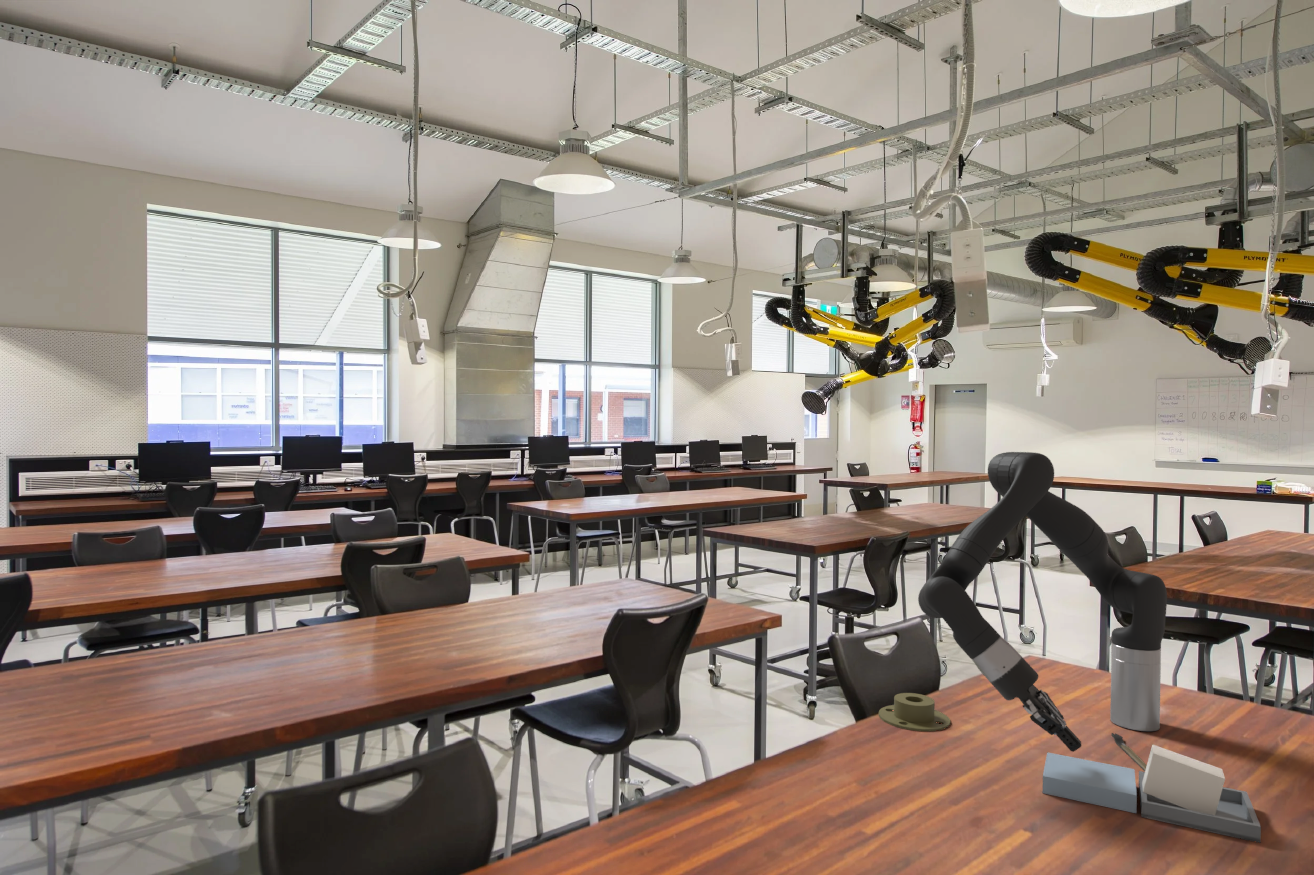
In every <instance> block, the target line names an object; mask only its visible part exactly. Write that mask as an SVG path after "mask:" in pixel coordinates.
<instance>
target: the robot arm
mask: <svg viewBox="0 0 1314 875" xmlns="http://www.w3.org/2000/svg"><path fill="white" fill-rule="evenodd" d="M987 477H988V480H989V482H990V485H991V486H992V488H993V489H994V490H995V491H996V492H997V493H998V494H999V496H1001V497H1002V498H1001V499H1000V500H999V501H997V503H995V504H994V505H993V506H992V507H991V508H990V509H988V510H987V511H985V512H984V513H983V514H981V515H980V516H978V517H977V518H976V519H974V520H973V521H971V523H969V524H968V525H967V526H966V527H965V528H964V529H963V530H962V531H961V533H959V535H958V536H957V538H956V539H955V541H954V542H953V544H952V545H951V547H950V548H949V549H948V552H947V553H946V554H945V557H944V558H943V560H942V561H941V563H940V564H939V566H937V568H936V569H934V570H935V571H933V573H932V574H931V575H930V576H929V578H928V579H927V581H926V582H924V584H923V586H922V587H921V589H920V591H919V592H918V599H917V600H918V606H919V608H920V610H921V611H922V612H923V614H924V615H926V616H928V617H930V618H934V619H942V620H944V622H945V623H946V624H947V626H948V627H949V628H950V629H951V631H952V637H953V639H954V642H955V643H956V644H957V645H958V646H959V648H960V649H962V651H963V652H964V653H965V654H966V655H967V656H968V657H969V658H970V659H971V661H972V662H973V663H974V665H975V666H976V668H977V669H978V671H979V672H981V674H982V675H983V676H984V677H985V678H986V679H987V681H988V682H989V683H990V684H991V685H992V686H993V687H994V688H995V690H997V692H998V693H999V694H1000V695H1001V696H1002V697H1003V699H1005V700H1006V701H1013V700H1015V699H1016V698H1018V699H1019V700H1020V702H1021V703H1022V708H1023V709H1024V710H1025V711H1026V712H1027V713H1028V715H1030V716H1029V718H1030V720H1031V721H1032V722H1033V723H1035V725H1037V726H1039V727H1040V728H1041V729H1042V730H1044V731H1045V732H1047V733H1048V734H1049V735H1051V736H1053V735H1054V736H1056V737H1057V738H1058V739H1059V740H1060V741H1061V742H1062V743H1063V744H1064V745H1065V746H1066V748H1068V749H1069V751H1070V752H1072V753H1073V752H1076V751H1077V750H1078V749H1080V748H1081V747H1082V741H1081V739H1079V737H1078V736H1077V735H1076V734H1075V733H1074V732H1073V731H1072V730H1071V729H1070V728H1069V727H1068V726H1067V721H1065V718H1064V715H1063V714H1062V713H1061V711H1060V710H1059V708H1058V707H1057V706H1056V704H1055V703H1054V702H1053V700H1052V699H1051V697H1050V696H1049V694H1048V693H1047V692H1046V691H1044V690H1043V689H1038V688H1037V686H1035V685H1034V684H1035V683H1036V682H1037V680H1038V679H1039V674H1038V672H1037V671H1036V670H1035V669H1034V668H1033V667H1032V666H1031V665H1030V664H1029V662H1027V661H1026V660H1025V658H1024V657H1023V656H1022V655H1021V654H1020V652H1018V650H1016V649H1015V648H1014V647H1013V645H1012V644H1010V643H1009V642H1008V641H1007V640H1006V639H1005V638H1003V637H1002V636H1001V635H1000V633H999V632H998V631H997V630H996V629H995V628H994V627H993V626H992V625H991V624H990V622H988V621H987V619H985V618H984V617H983V615H982V614H981V612H980V610H979V608H978V607H977V606H976V604H975V602H974V601H973V599H972V598H971V596H970V595H969V594H968V592H967V591H966V590H967V588H968V587H969V585H970V584H972V582H974V580H976V579H977V578H978V576H980V574H981V572H982V571H983V570H984V568H985V566H986V565H987V564H988V562H989V561H990V559H991V557H992V555H993V554H994V553H995V552H996V550H997V549H998V547H999V546H1000V545H1001V543H1002V542H1003V541H1004V540H1005V539H1006V537H1007V536H1008V535H1009V534H1010V533H1011V531H1013V529H1014V528H1015V527H1016V526H1017V525H1018V524H1019V523H1020V522H1021V521H1023V519H1024V518H1025V517H1027V518H1028V519H1029V521H1031V522H1032V523H1033V524H1034V525H1035V527H1037V528H1038V529H1039V530H1040V531H1041V533H1043V534H1044V535H1045V537H1047V538H1048V539H1049V541H1051V542H1052V543H1053V545H1054V546H1055V547H1056V548H1057V549H1058V550H1059V551H1060V552H1061V553H1062V554H1063V555H1064V556H1065V557H1066V558H1067V559H1069V560H1070V561H1071V562H1072V564H1074V565H1075V566H1076V568H1078V570H1079V571H1080V572H1082V574H1083V575H1084V576H1085V577H1086V578H1087V579H1088V580H1089V582H1091V584H1092V585H1093V587H1094V588H1095V589H1096V591H1097V593H1099V595H1100V596H1101V597H1102V598H1103V600H1104V601H1105V602H1106V603H1107V604H1108V605H1109V606H1110V607H1111V608H1113V609H1115V610H1117V611H1120V612H1124V613H1128V614H1132V618H1131V623H1130V625H1129V626H1122V627H1116V628H1113V630H1112V631H1111V641H1110V642H1111V644H1110V645H1111V646H1110V647H1111V649H1110V650H1111V652H1110V653H1111V654H1110V655H1111V656H1110V658H1111V659H1110V661H1111V662H1110V664H1111V665H1110V710H1109V711H1110V714H1109V716H1110V721H1111V723H1113V724H1114V725H1117V726H1118V727H1121V728H1125V729H1129V730H1132V731H1133V730H1134V731H1138V732H1139V731H1141V732H1156V731H1158V730H1160V727H1161V723H1160V722H1161V674H1162V673H1161V671H1162V670H1161V669H1162V668H1161V666H1162V663H1161V661H1162V658H1161V656H1162V640H1163V639H1164V635H1165V630H1166V616H1167V606H1168V605H1167V604H1168V603H1167V602H1168V592H1167V588H1166V584H1165V583H1164V580H1162V578H1161V577H1159V575H1155V574H1152V573H1146V572H1141V571H1135V570H1129V569H1127V568H1123V567H1122V566H1121V565H1119V564H1118V563H1117V562H1116V561H1115V560H1114V559H1113V558H1112V557H1111V556H1110V555H1109V540H1108V536H1107V534H1106V532H1105V531H1104V530H1103V528H1102V527H1101V526H1100V525H1099V524H1098V523H1097V522H1096V521H1095V520H1094V519H1093V518H1092V516H1091V515H1089V513H1087V512H1086V511H1084V510H1083V509H1082V508H1080V507H1079V506H1077V505H1075V504H1073V503H1071V502H1069V501H1067V500H1066V499H1064V498H1062V497H1060V496H1058V495H1056V494H1054V493H1052V492H1050V491H1049V490H1050V489H1051V487H1052V485H1053V484H1054V483H1053V482H1054V478H1055V468H1054V464H1053V463H1052V461H1051V459H1050V458H1049V457H1048V456H1046V455H1045V454H1042V453H1039V452H1029V451H1027V452H1026V451H1006V452H1001V453H999V454H997V455H995V456H993V457H992V458H991V459H990V460H989V462H988V466H987Z"/></svg>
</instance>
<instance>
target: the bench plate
mask: <svg viewBox="0 0 1314 875" xmlns="http://www.w3.org/2000/svg"><path fill="white" fill-rule="evenodd" d="M1136 782H1137V781H1136V770H1135V768H1131V767H1126V766H1125V767H1124V766H1120V765H1115V764H1111V763H1110V764H1109V763H1103V762H1099V761H1094V760H1090V759H1085V758H1078V757H1073V756H1067V755H1063V754H1058V753H1053V752H1049V751H1048V752H1047V753H1046V757H1045V762H1044V767H1043V774H1042V794H1045V795H1050V796H1053V797H1059V798H1064V799H1067V800H1074V801H1077V802H1081V803H1086V804H1091V805H1097V806H1102V807H1104V808H1105V807H1106V808H1109V809H1115V810H1120V811H1124V812H1127V813H1128V812H1129V813H1133V814H1137V805H1138V803H1137V800H1138V799H1137V798H1138V796H1137V795H1138V793H1137V784H1136Z"/></svg>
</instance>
